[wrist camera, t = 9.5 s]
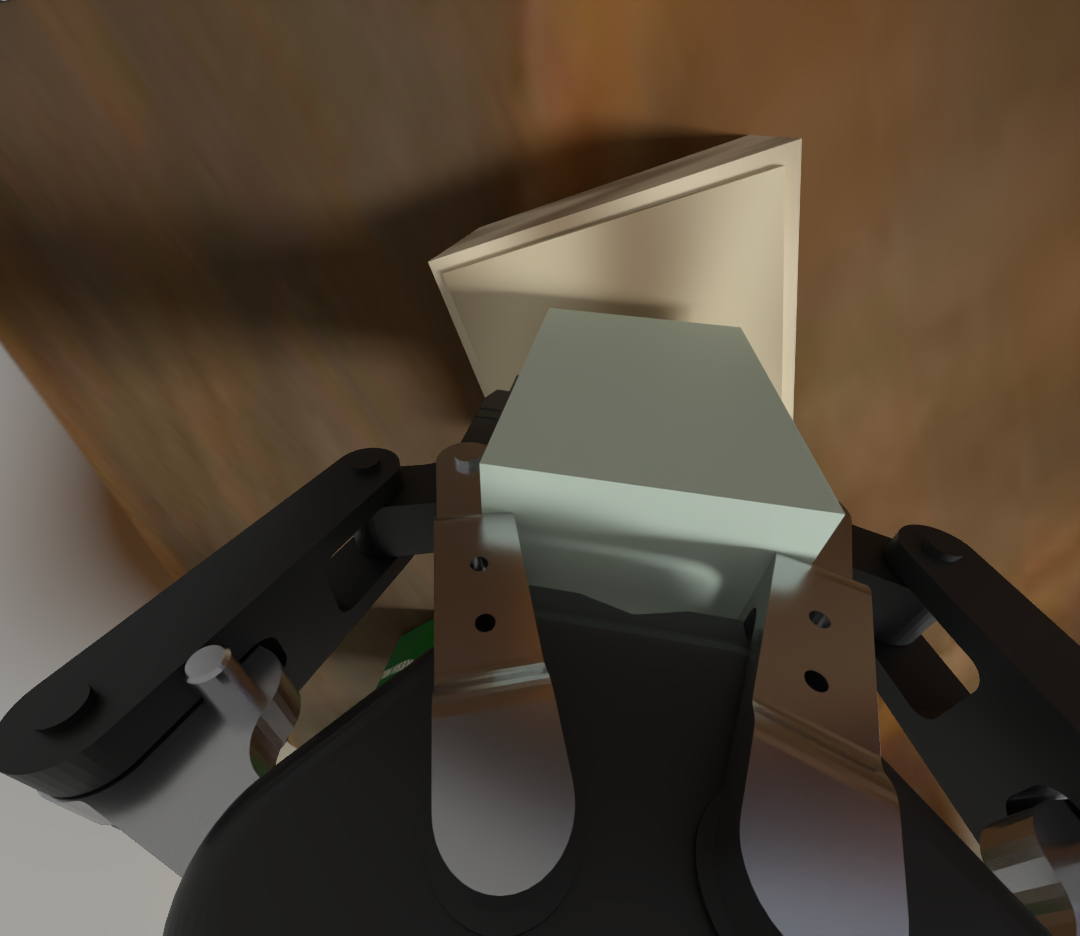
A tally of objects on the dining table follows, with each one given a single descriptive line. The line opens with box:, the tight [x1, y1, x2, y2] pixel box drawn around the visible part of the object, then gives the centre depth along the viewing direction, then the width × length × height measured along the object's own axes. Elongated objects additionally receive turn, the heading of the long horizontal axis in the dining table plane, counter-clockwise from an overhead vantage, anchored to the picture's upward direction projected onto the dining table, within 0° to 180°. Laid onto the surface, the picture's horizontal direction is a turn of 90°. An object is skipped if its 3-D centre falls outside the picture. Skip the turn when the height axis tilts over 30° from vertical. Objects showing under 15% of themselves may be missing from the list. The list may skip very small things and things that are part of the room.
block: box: [479, 308, 845, 619], centre depth 10 cm, size 5×5×7 cm
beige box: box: [428, 135, 802, 420], centre depth 17 cm, size 10×10×6 cm
